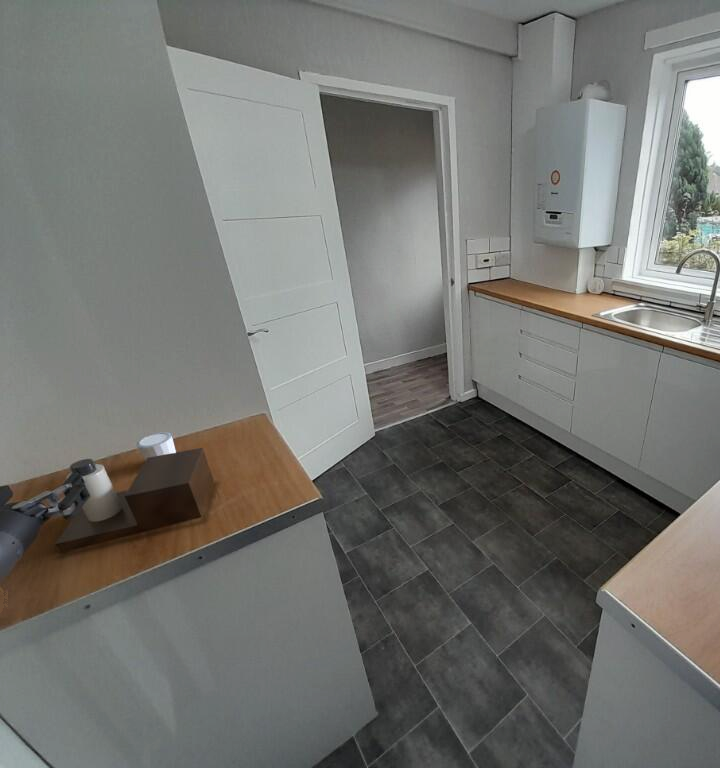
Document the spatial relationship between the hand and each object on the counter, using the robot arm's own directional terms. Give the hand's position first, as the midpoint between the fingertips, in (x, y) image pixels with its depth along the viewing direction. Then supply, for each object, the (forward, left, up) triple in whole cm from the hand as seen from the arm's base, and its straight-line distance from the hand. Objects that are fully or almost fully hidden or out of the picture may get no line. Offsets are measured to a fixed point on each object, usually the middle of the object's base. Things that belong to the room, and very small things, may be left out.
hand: (43, 483), depth 68 cm
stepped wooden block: (+6, +11, -18) cm, 22 cm away
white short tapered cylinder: (+4, +33, -18) cm, 38 cm away
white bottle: (0, +11, -15) cm, 19 cm away
